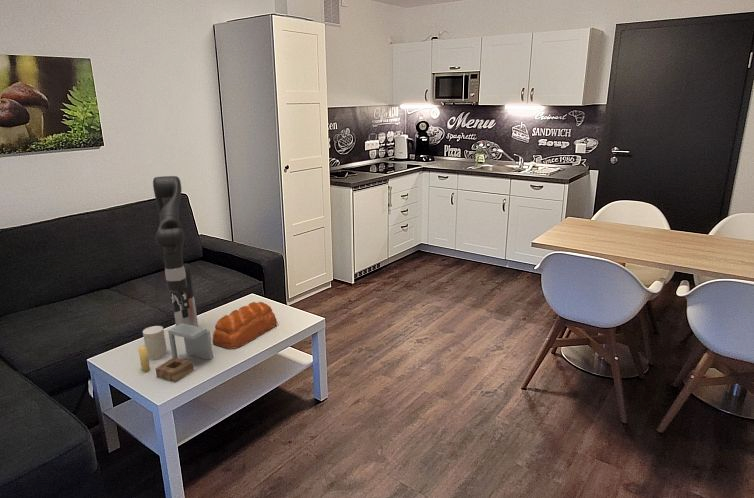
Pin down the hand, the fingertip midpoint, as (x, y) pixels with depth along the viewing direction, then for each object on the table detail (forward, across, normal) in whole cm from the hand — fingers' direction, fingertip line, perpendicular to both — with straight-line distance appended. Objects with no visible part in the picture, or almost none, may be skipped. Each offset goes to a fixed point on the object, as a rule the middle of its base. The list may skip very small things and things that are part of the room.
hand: (181, 314), depth 206 cm
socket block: (+22, +6, -8) cm, 24 cm away
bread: (+22, -7, +31) cm, 39 cm away
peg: (+22, -6, -15) cm, 27 cm away
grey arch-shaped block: (+22, 0, +2) cm, 22 cm away
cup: (+22, -16, -8) cm, 28 cm away
